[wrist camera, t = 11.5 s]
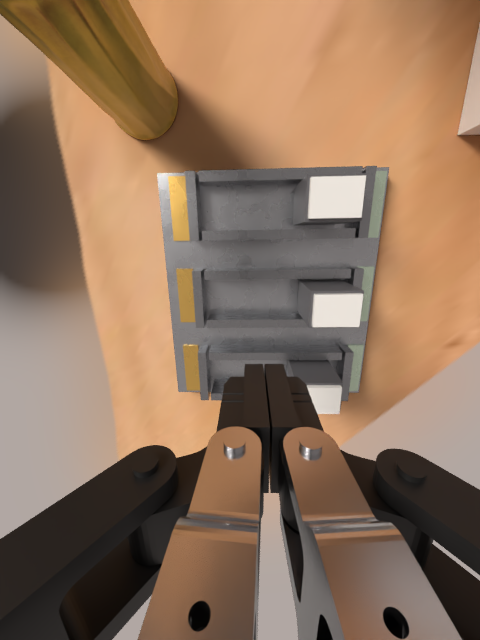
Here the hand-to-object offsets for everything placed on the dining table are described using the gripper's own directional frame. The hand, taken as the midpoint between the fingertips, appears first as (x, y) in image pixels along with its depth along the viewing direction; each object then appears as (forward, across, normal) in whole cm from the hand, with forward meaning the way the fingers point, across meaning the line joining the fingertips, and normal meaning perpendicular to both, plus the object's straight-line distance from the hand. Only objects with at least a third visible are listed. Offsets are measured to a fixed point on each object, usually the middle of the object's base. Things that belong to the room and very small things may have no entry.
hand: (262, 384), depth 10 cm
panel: (+18, -2, 0) cm, 18 cm away
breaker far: (+16, -5, +8) cm, 19 cm away
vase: (+19, +10, -17) cm, 27 cm away
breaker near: (+17, -5, -8) cm, 19 cm away
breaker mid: (+17, -6, 0) cm, 18 cm away
